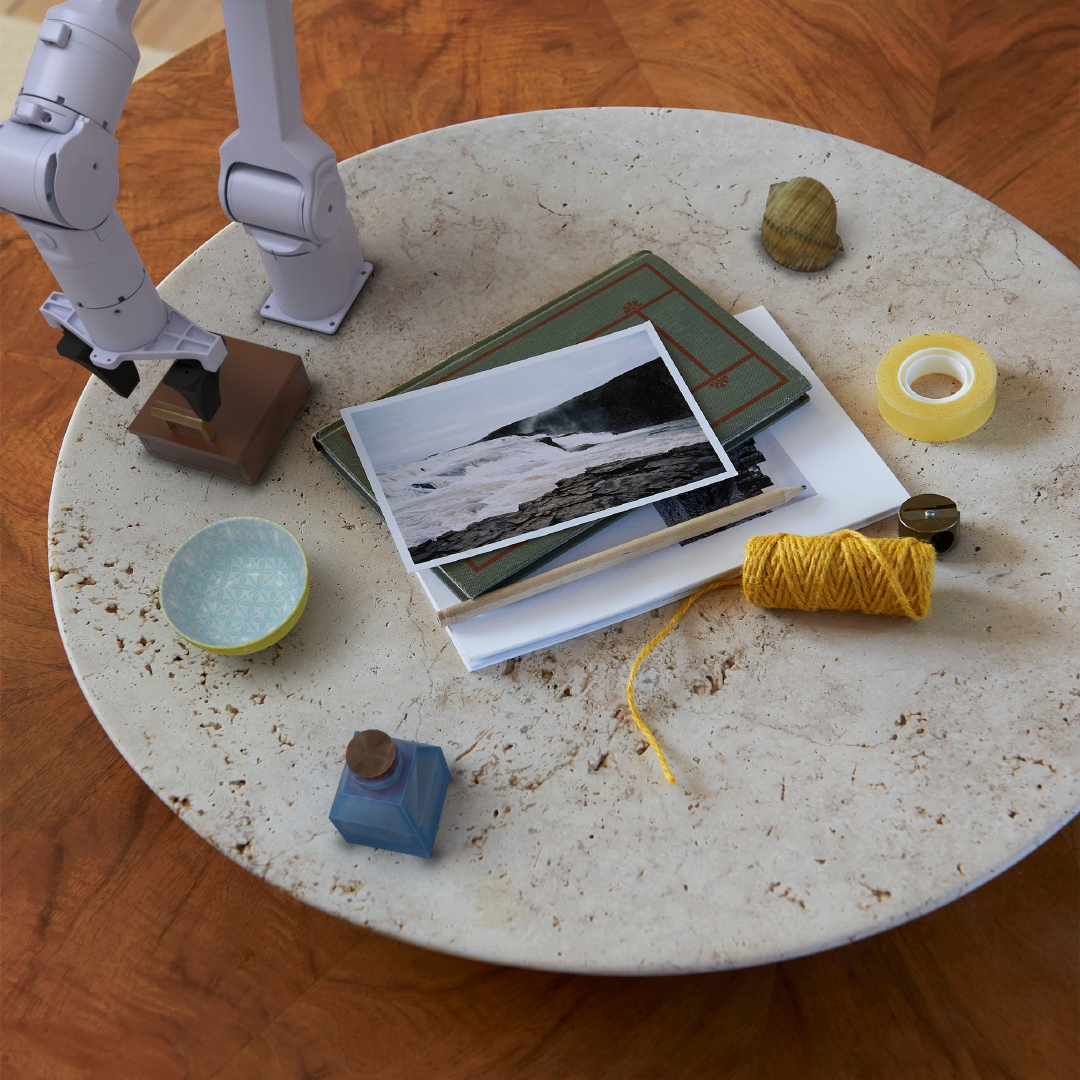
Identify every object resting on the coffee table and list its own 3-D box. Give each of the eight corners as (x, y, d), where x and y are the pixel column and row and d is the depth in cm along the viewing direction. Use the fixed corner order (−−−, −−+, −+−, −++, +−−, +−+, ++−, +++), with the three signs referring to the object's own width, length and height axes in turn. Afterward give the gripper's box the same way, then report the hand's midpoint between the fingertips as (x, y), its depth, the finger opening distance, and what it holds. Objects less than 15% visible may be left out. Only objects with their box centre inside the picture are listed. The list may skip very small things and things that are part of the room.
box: (253, 486, 91) (240, 461, 88) (148, 454, 93) (132, 429, 90) (312, 387, 96) (302, 360, 93) (212, 359, 99) (199, 332, 95)
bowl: (201, 702, 81) (174, 670, 75) (172, 582, 86) (145, 544, 81) (342, 651, 83) (325, 615, 77) (304, 536, 88) (286, 496, 83)
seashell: (823, 286, 106) (874, 217, 102) (807, 289, 100) (861, 216, 96) (748, 230, 108) (795, 161, 104) (728, 230, 102) (778, 156, 98)
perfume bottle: (429, 858, 74) (404, 810, 64) (346, 842, 75) (308, 791, 65) (450, 775, 77) (430, 715, 67) (370, 760, 78) (337, 699, 68)
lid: (237, 465, 87) (225, 440, 84) (129, 433, 90) (113, 408, 87) (302, 359, 93) (293, 333, 90) (199, 332, 95) (186, 305, 92)
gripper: (-15, 295, 73) (68, 414, 84) (165, 344, 70) (225, 461, 81) (42, 227, 76) (114, 351, 88) (216, 271, 73) (267, 394, 85)
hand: (171, 400), depth 85 cm, fingers open, 7 cm apart
